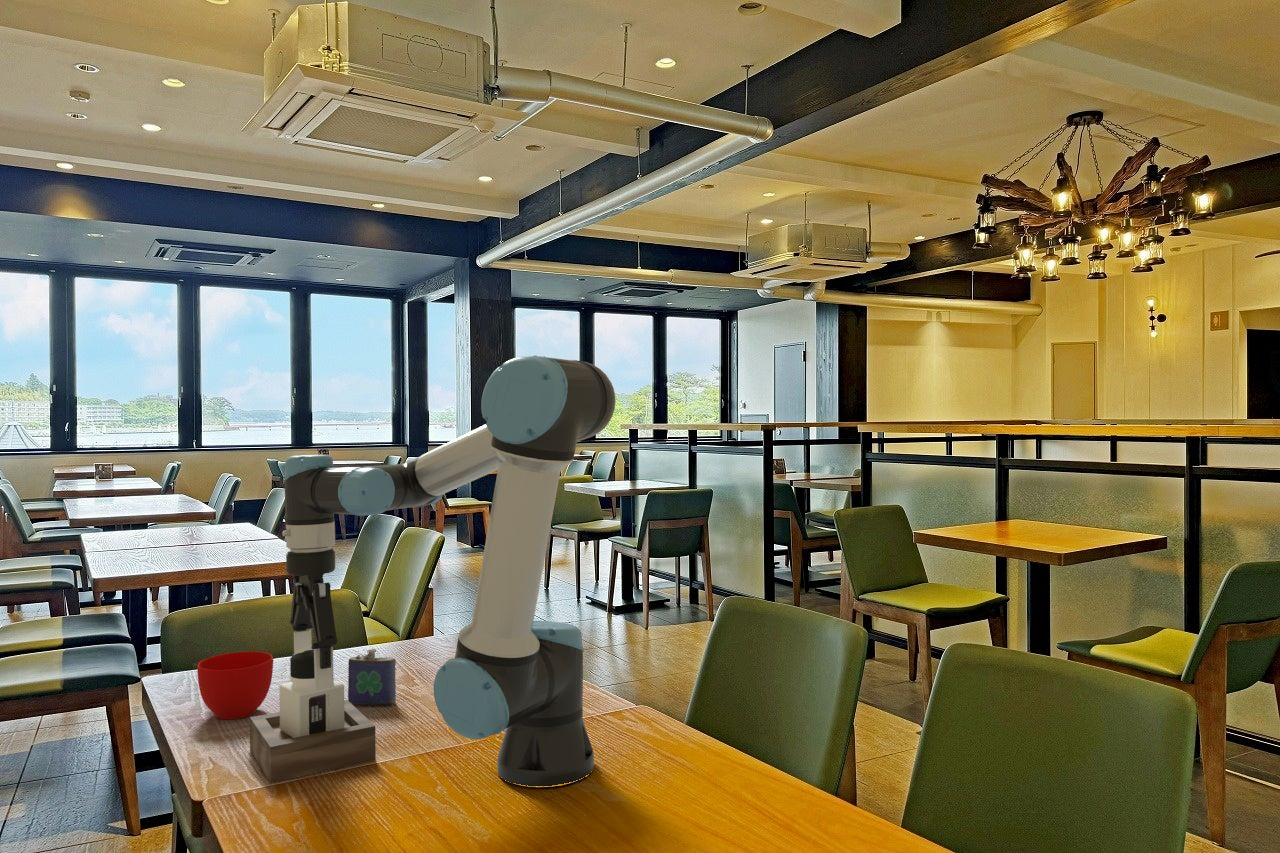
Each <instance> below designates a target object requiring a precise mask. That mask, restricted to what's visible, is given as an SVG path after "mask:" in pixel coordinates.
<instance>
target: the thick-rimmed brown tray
mask: <svg viewBox="0 0 1280 853" xmlns="http://www.w3.org/2000/svg"><path fill="white" fill-rule="evenodd" d="M376 746H377V745H376V725H375V724H374V723H373V722H372V721H370V719H368V717H366V716H365V715H364V714H363V713H362V712H361V711H360V710H359V709H358V708H357V707H356V706H353V705H352V704H351V703H350V702H349V701H348V699H344V728H341V729H336V730H331V731H326V732H321V733H316V734H311V735H306V736H301V737H295V738H293V737H291V736H289V735H288V734H286V733H284V732H283V731H281V730H280V711H277V712H272V713H265V714H261V715H255V716H254V715H253V716H249V751H250V752H251V754H252V755H253V757H254V759H255V761H256V762H257V764H258V766H259V767H260V768H261V770H262V772H263V773H264V775H265V776H266V778H267V780H268V781H269V783H270V784H273V783H277V781H278V782H281V780H282V781H287V780H292V779H295V778H294V777H296V778H299V777H298V776H300V777H304V776H303V775H305V776H308V775H307V774H309V775H313V773H314V774H318V773H323V772H327V771H332V770H336V769H340V768H341V769H342V768H345V767H349V766H355V765H358V764H363V763H368V762H372V761H376V760H377V759H376V757H377V755H376V753H377V752H376ZM322 771H323V772H322ZM272 782H273V783H272Z"/></svg>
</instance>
